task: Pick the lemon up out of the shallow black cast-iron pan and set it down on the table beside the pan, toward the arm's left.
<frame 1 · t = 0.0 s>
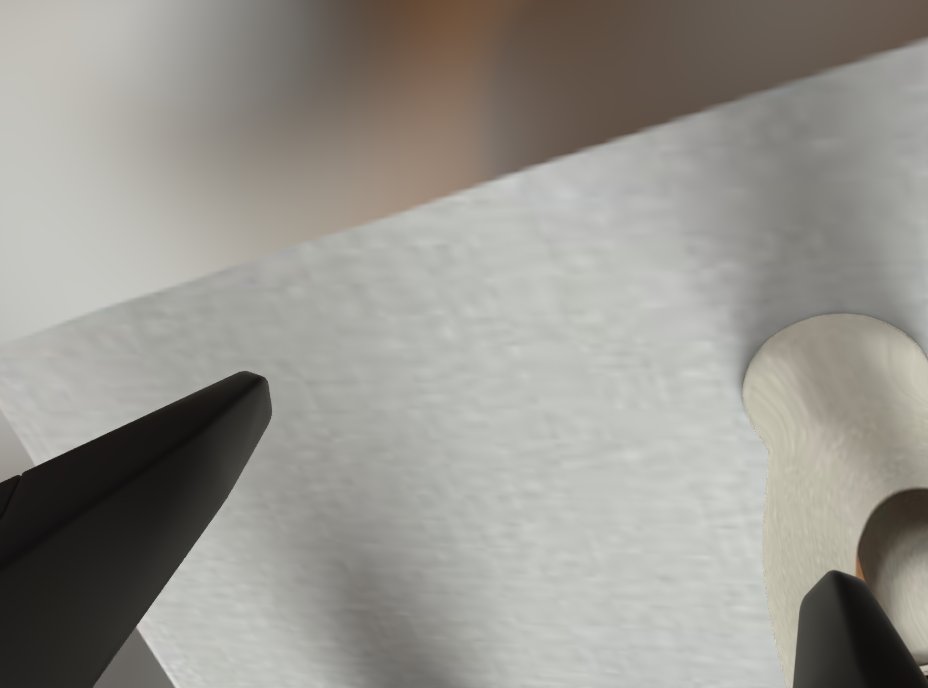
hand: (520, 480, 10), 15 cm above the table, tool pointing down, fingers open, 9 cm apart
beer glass: (830, 386, 23), on the table
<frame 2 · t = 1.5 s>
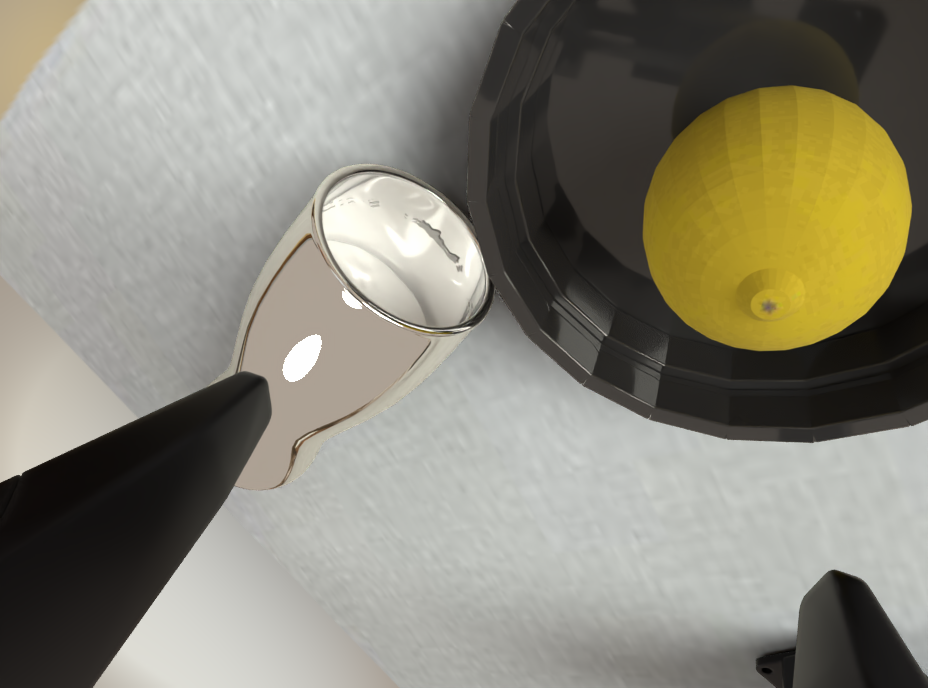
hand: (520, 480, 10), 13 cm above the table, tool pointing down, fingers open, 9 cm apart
pan: (761, 151, 18), on the table
lemon: (761, 154, 18), resting on pan
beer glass: (255, 431, 30), point 3 cm above the table
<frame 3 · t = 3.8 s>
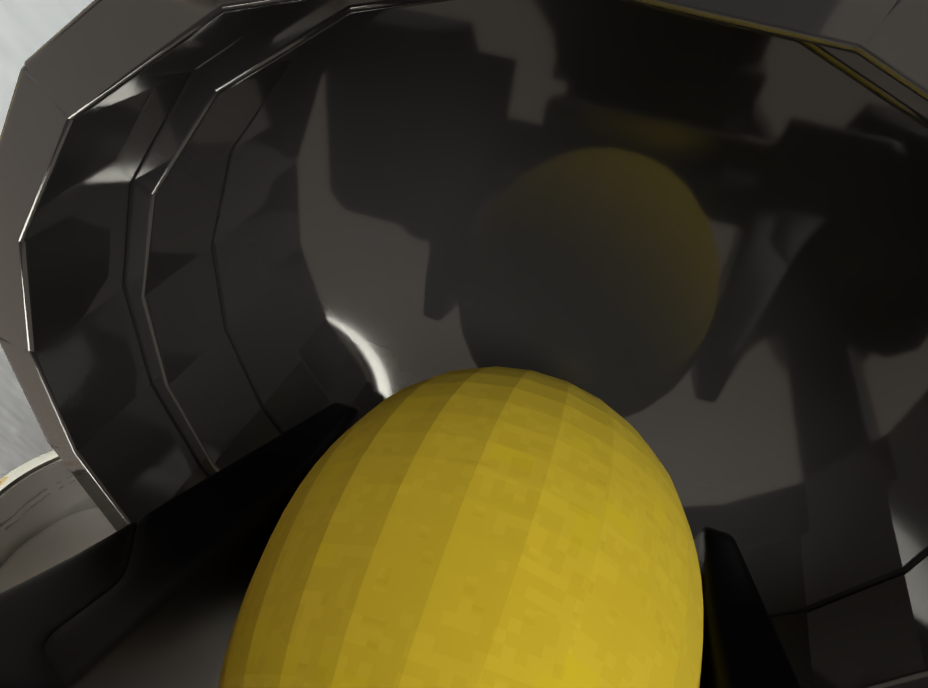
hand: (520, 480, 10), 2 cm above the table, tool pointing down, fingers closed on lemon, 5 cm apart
pan: (551, 387, 11), on the table
lemon: (549, 394, 11), resting on pan, touching gripper
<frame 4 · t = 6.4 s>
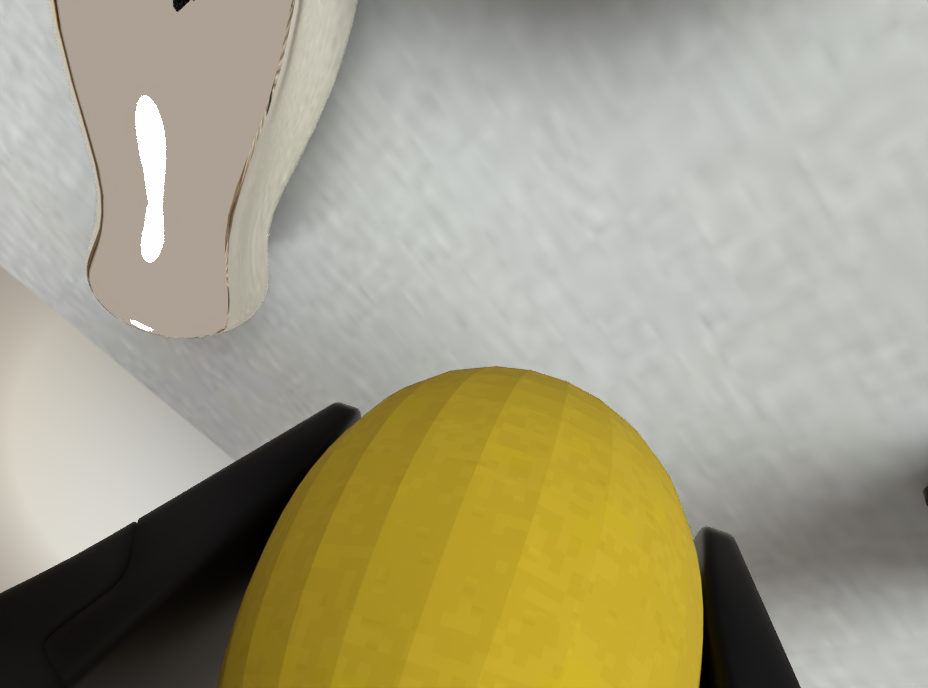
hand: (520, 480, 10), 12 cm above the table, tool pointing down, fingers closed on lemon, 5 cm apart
lemon: (548, 394, 11), point 10 cm above the table, touching gripper
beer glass: (181, 277, 23), point 3 cm above the table
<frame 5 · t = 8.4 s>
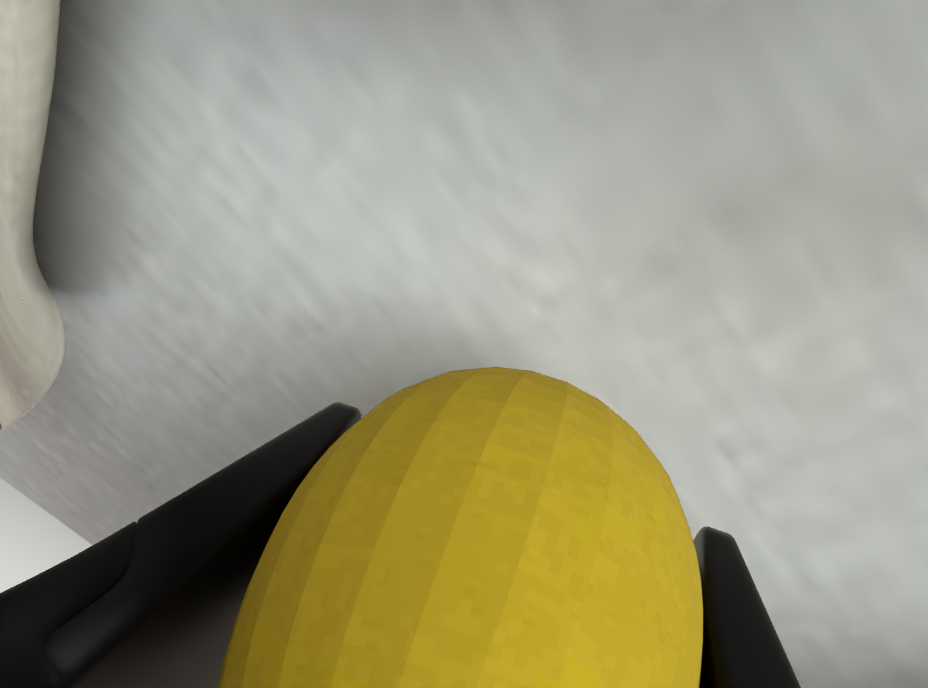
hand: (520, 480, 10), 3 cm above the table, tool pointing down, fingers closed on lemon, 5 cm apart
lemon: (548, 395, 11), point 1 cm above the table, touching gripper
when the fingers open (2 cm above the table, at t = 9.4 s): lemon stays where it is, on the table.
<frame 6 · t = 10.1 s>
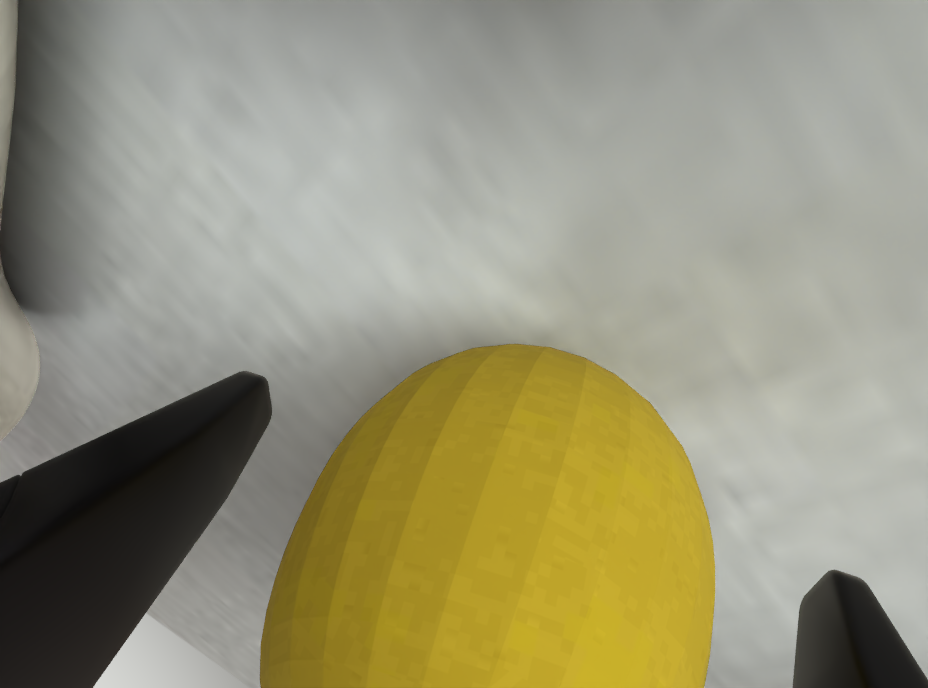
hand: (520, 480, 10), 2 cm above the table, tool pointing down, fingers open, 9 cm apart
lemon: (562, 375, 12), on the table
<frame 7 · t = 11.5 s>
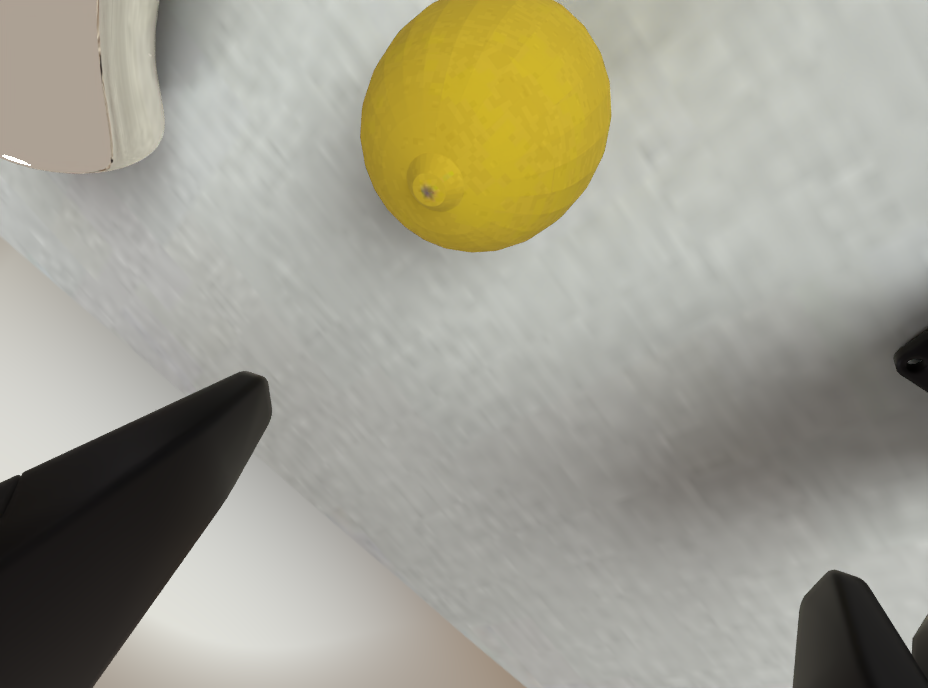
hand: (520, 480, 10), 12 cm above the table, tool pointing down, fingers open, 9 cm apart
lemon: (533, 73, 18), on the table
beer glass: (61, 117, 20), point 3 cm above the table
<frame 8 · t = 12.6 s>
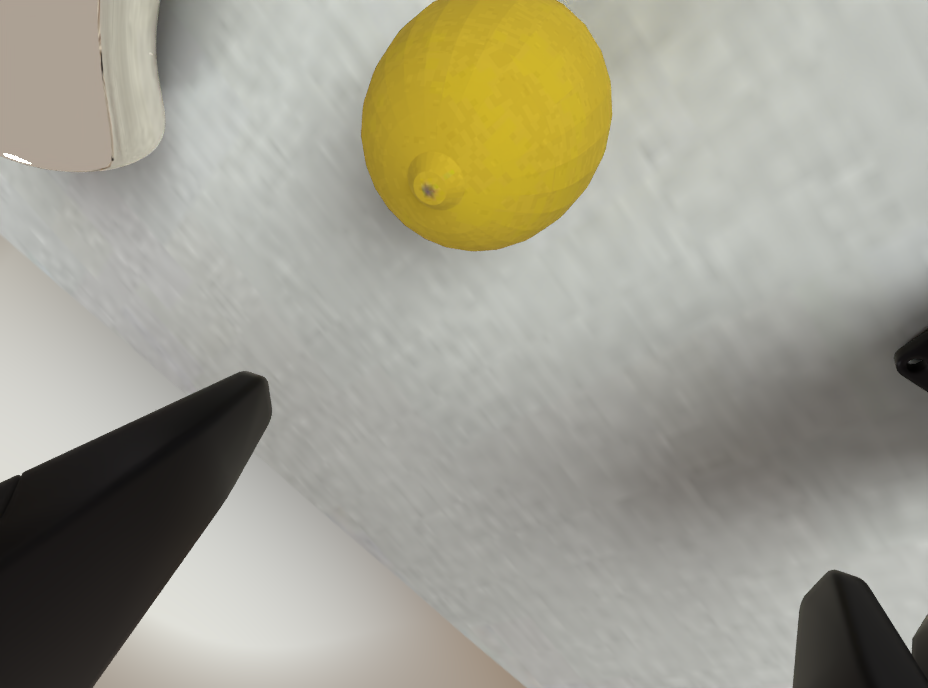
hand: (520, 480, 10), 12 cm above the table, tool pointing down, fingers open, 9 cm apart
lemon: (534, 72, 18), on the table
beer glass: (62, 116, 20), point 3 cm above the table
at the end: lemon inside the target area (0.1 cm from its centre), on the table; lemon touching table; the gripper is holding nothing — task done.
